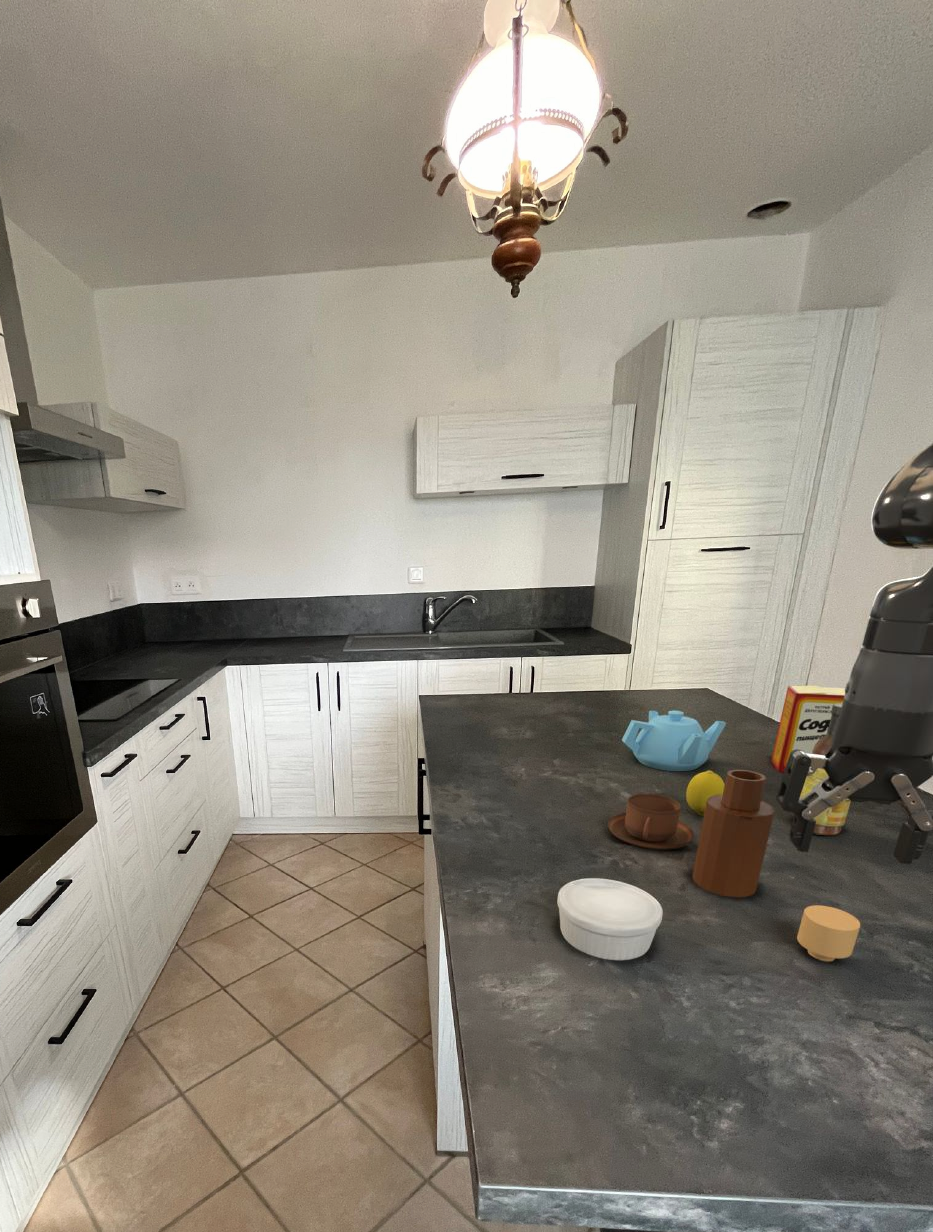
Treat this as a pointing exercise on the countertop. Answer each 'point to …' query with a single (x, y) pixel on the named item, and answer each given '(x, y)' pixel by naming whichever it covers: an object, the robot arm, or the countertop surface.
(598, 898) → the ramekin
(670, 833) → the cup and saucer
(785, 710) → the baking soda box
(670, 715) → the teapot
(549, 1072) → the countertop surface
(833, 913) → the bung
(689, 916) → the countertop surface
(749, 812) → the brown bottle
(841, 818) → the sauce bottle
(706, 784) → the lemon
